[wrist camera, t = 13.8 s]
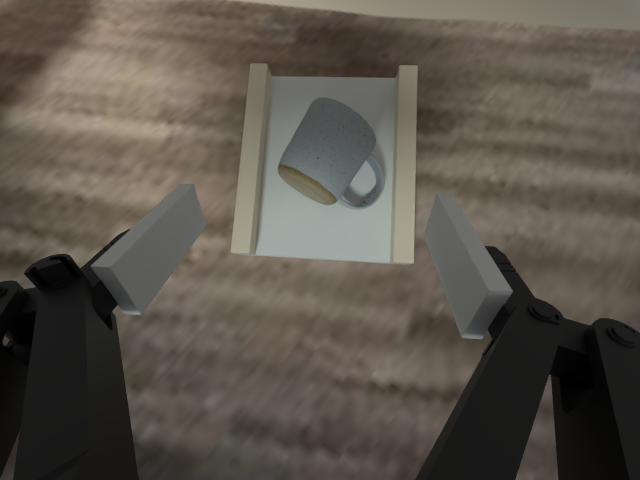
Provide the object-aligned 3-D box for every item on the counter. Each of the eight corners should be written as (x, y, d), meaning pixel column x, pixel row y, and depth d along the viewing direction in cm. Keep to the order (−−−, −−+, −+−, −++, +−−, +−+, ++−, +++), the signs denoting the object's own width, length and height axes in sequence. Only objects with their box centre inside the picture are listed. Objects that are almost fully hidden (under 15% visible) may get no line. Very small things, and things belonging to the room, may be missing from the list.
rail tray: (241, 254, 32) (230, 252, 29) (258, 82, 34) (250, 63, 31) (405, 264, 30) (413, 263, 27) (409, 85, 33) (417, 65, 30)
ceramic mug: (279, 185, 31) (263, 157, 24) (315, 126, 32) (309, 81, 24) (360, 230, 30) (370, 216, 23) (395, 168, 31) (416, 134, 23)
